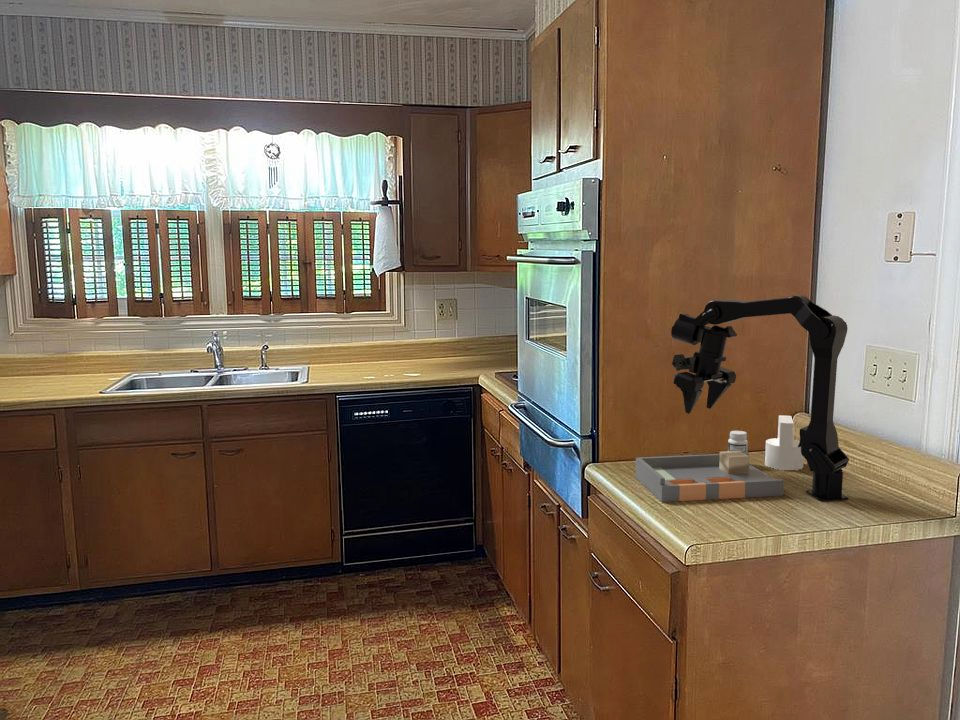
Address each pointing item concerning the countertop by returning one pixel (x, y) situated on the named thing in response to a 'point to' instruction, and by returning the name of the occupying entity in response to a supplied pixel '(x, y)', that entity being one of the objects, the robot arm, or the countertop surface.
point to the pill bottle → (738, 441)
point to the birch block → (734, 462)
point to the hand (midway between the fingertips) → (698, 410)
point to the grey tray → (701, 479)
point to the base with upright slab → (784, 448)
